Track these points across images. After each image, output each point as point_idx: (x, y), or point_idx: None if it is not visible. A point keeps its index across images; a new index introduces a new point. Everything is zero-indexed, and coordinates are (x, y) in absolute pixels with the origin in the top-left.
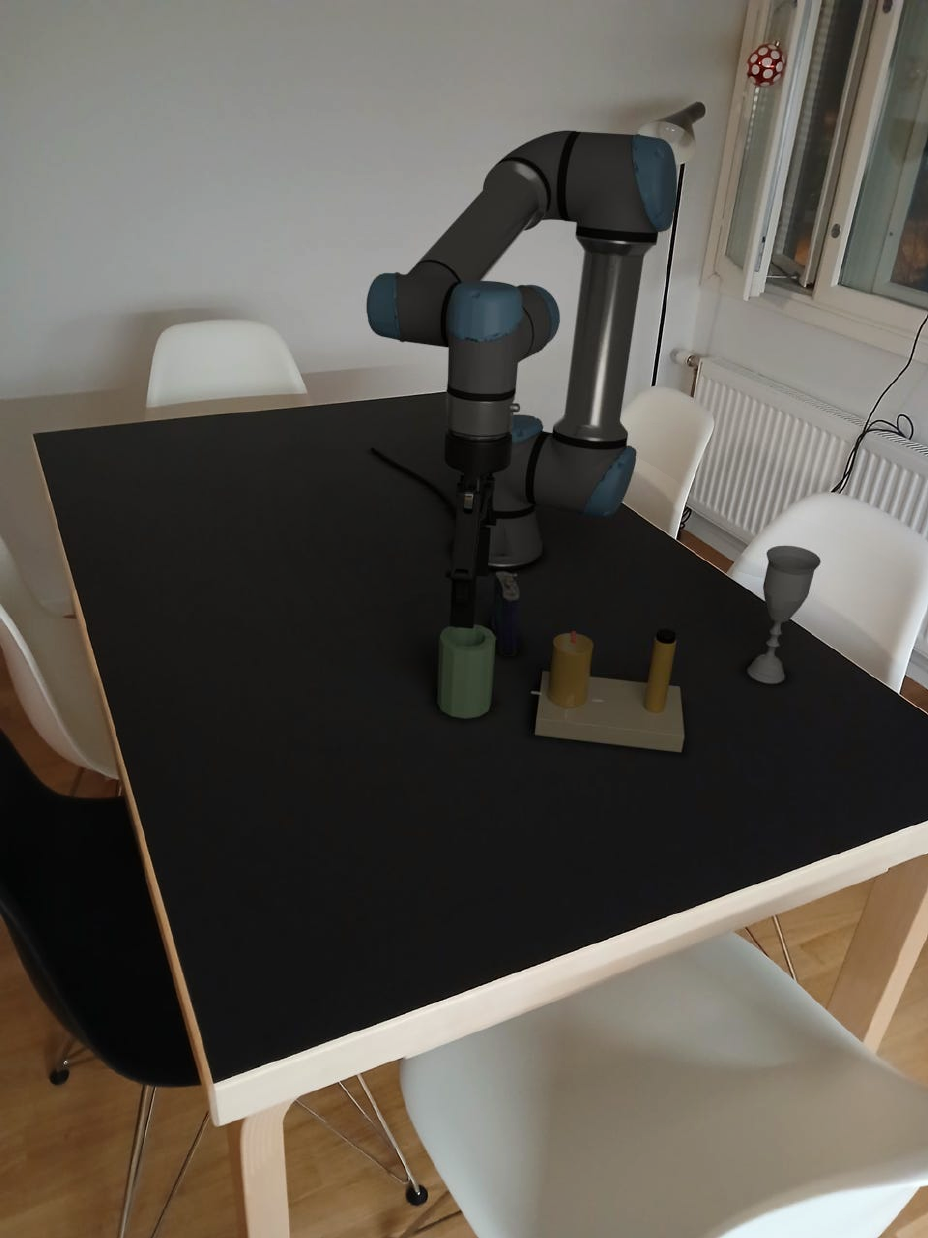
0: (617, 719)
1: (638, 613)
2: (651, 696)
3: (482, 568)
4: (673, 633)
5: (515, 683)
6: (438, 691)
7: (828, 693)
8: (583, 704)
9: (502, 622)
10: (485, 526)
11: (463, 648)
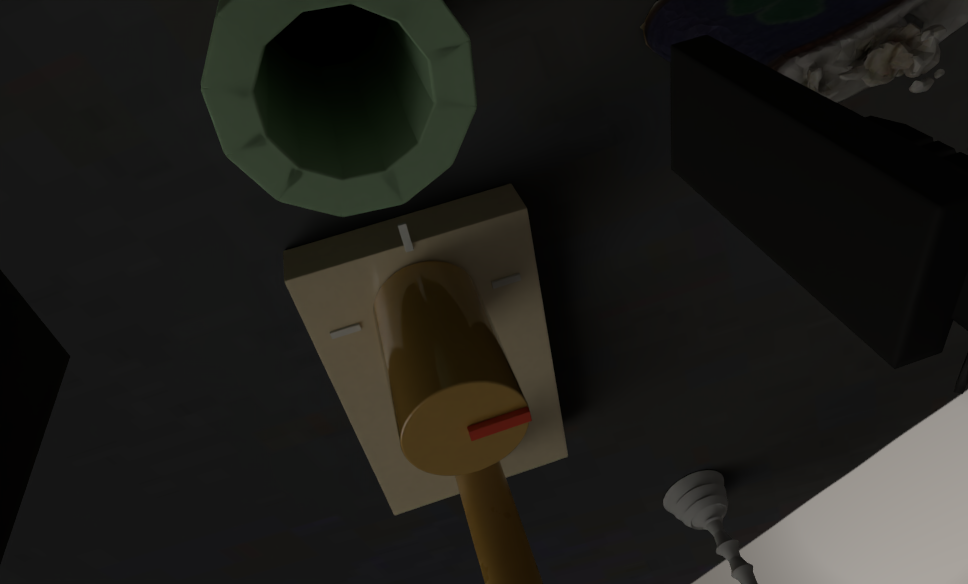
0: (388, 418)
1: None
2: (460, 480)
3: (696, 165)
4: None
5: (501, 112)
6: None
7: (655, 559)
8: None
9: (716, 34)
10: (957, 321)
11: (238, 124)
